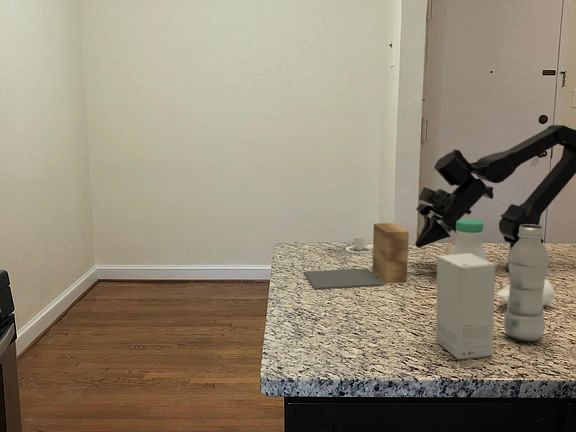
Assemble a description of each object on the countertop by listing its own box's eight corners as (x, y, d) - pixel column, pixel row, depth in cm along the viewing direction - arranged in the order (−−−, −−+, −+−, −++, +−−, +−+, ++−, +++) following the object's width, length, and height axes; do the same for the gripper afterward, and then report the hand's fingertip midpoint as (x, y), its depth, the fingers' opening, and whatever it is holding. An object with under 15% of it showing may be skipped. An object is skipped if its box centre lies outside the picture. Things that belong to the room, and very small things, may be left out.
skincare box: (493, 357, 95) (499, 264, 92) (455, 361, 93) (460, 267, 90) (467, 337, 103) (472, 251, 100) (432, 340, 101) (436, 253, 99)
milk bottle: (488, 323, 109) (495, 218, 105) (483, 338, 102) (490, 226, 99) (446, 317, 112) (451, 215, 109) (438, 331, 106) (443, 223, 102)
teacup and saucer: (381, 250, 166) (381, 236, 165) (369, 256, 160) (369, 241, 159) (353, 246, 171) (353, 232, 170) (340, 252, 164) (340, 237, 163)
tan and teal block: (392, 270, 144) (393, 222, 142) (406, 282, 135) (408, 231, 132) (372, 271, 144) (373, 223, 141) (385, 283, 134) (387, 232, 132)
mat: (366, 269, 145) (366, 268, 145) (383, 285, 132) (384, 283, 132) (303, 273, 142) (303, 271, 142) (314, 289, 130) (314, 287, 130)
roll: (485, 307, 118) (487, 280, 117) (531, 299, 123) (533, 273, 122) (507, 316, 113) (509, 289, 112) (554, 308, 117) (556, 281, 116)
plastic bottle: (547, 346, 99) (557, 231, 95) (505, 343, 100) (513, 229, 96) (539, 332, 105) (548, 223, 101) (499, 329, 106) (507, 222, 102)
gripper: (425, 171, 146) (381, 216, 146) (459, 180, 127) (409, 232, 128) (453, 201, 148) (410, 245, 149) (490, 215, 130) (441, 265, 131)
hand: (416, 246), depth 139 cm, fingers closed
